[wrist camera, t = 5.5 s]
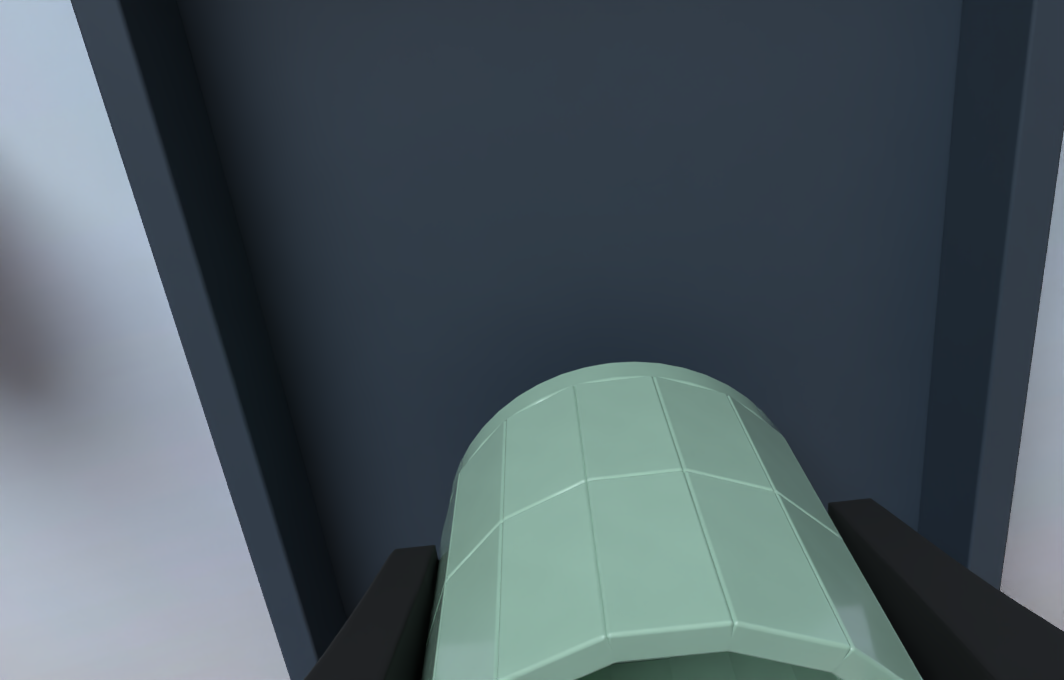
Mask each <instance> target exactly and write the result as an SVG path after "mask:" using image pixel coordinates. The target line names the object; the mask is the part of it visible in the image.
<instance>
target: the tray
mask: <svg viewBox="0 0 1064 680" xmlns="http://www.w3.org/2000/svg"><path fill="white" fill-rule="evenodd" d="M71 3H72V6H73V9H74V12H75V15H76V18H77V22H78V25H79V28H80V31H81V34H82V37H83V40H84V43H85V46H86V49H87V52H88V56H89V59H90V62H91V65H92V68H93V71H94V74H95V77H96V80H97V83H98V86H99V89H100V93H101V96H102V99H103V102H104V105H105V108H106V111H107V114H108V117H109V120H110V123H111V127H112V130H113V133H114V136H115V139H116V142H117V145H118V148H119V151H120V154H121V157H122V160H123V164H124V167H125V170H126V173H127V176H128V179H129V182H130V185H131V188H132V191H133V194H134V198H135V201H136V204H137V207H138V210H139V213H140V216H141V219H142V222H143V225H144V228H145V231H146V235H147V238H148V241H149V244H150V247H151V250H152V253H153V256H154V259H155V262H156V265H157V269H158V272H159V275H160V278H161V281H162V284H163V287H164V290H165V293H166V296H167V299H168V303H169V306H170V309H171V312H172V315H173V318H174V321H175V324H176V327H177V330H178V333H179V336H180V340H181V343H182V346H183V349H184V352H185V355H186V358H187V361H188V364H189V367H190V370H191V374H192V377H193V380H194V383H195V386H196V389H197V392H198V395H199V398H200V401H201V404H202V407H203V411H204V414H205V417H206V420H207V423H208V426H209V429H210V432H211V435H212V438H213V441H214V445H215V448H216V451H217V454H218V457H219V460H220V463H221V466H222V469H223V472H224V475H225V478H226V482H227V485H228V488H229V491H230V494H231V497H232V500H233V503H234V506H235V509H236V512H237V516H238V519H239V522H240V525H241V528H242V531H243V534H244V537H245V540H246V543H247V546H248V550H249V553H250V556H251V559H252V562H253V565H254V568H255V571H256V574H257V577H258V580H259V583H260V587H261V590H262V593H263V596H264V599H265V602H266V605H267V608H268V611H269V614H270V617H271V621H272V624H273V627H274V630H275V633H276V636H277V639H278V642H279V645H280V648H281V651H282V654H283V658H284V661H285V664H286V667H287V670H288V673H289V676H290V679H291V680H304V678H305V677H306V676H307V675H308V673H309V672H310V671H311V669H312V668H313V667H314V666H315V664H316V663H317V662H318V660H319V659H320V658H321V656H322V655H323V654H324V652H325V651H326V649H327V648H328V647H329V645H330V644H331V642H332V641H333V640H334V638H335V637H336V635H337V634H338V632H339V631H340V630H341V628H342V627H343V625H344V624H345V623H346V621H347V620H348V618H349V617H350V615H351V614H352V612H353V611H354V609H355V608H356V606H357V605H358V603H359V602H360V600H361V599H362V597H363V596H364V594H365V593H366V591H367V590H368V588H369V587H370V585H371V583H372V582H373V580H374V579H375V577H376V576H377V574H378V572H379V571H380V569H381V568H382V566H383V565H384V563H385V561H386V560H387V558H388V557H389V555H390V554H391V553H392V552H393V551H394V550H395V549H401V548H410V547H419V546H429V545H435V546H436V551H437V556H438V558H439V551H440V544H441V537H442V530H443V527H444V523H445V520H446V516H447V513H448V507H449V500H450V495H451V490H452V485H453V481H454V478H455V475H456V473H457V470H458V467H459V464H460V462H461V460H462V458H463V457H464V455H465V453H466V451H467V449H468V447H469V446H470V444H471V443H472V441H473V440H474V439H475V437H476V436H477V435H478V433H479V432H480V431H481V429H482V428H483V427H484V426H485V425H486V424H487V423H488V422H489V421H490V420H491V419H492V418H493V417H494V416H495V415H496V414H497V413H498V412H499V411H500V410H501V409H502V408H504V407H505V406H506V405H507V404H509V403H510V402H511V401H513V400H514V399H515V398H516V397H518V396H519V395H521V394H523V393H524V392H526V391H528V390H530V389H531V388H533V387H535V386H536V385H538V384H540V383H542V382H545V381H547V380H549V379H552V378H554V377H556V376H558V375H561V374H564V373H567V372H571V371H574V370H577V369H581V368H584V367H589V366H595V365H600V364H606V363H617V362H649V363H661V364H666V365H672V366H677V367H682V368H686V369H689V370H692V371H695V372H698V373H702V374H705V375H707V376H710V377H712V378H714V379H716V380H718V381H720V382H722V383H724V384H727V385H728V386H730V387H731V388H733V389H735V390H736V391H738V392H739V393H741V394H742V395H744V396H745V397H747V398H748V399H749V400H750V401H751V402H753V403H754V404H755V405H756V406H757V407H758V408H759V409H761V410H762V411H763V412H764V413H765V415H766V416H767V417H768V418H769V419H770V420H771V422H772V423H773V424H774V425H775V426H776V427H777V429H778V431H779V432H780V434H782V436H783V437H784V438H785V439H786V441H787V443H788V444H789V446H790V448H791V450H792V451H793V453H794V455H795V457H796V458H797V460H798V462H799V464H800V465H801V467H802V469H803V471H804V472H805V474H806V476H807V478H808V479H809V481H810V483H811V485H812V486H813V488H814V490H815V492H816V493H817V495H818V497H819V499H820V500H821V502H822V504H823V506H824V507H825V509H826V511H827V512H828V503H830V502H839V501H849V500H858V499H867V498H871V499H873V500H874V501H875V502H877V503H878V504H880V505H881V506H883V507H884V508H885V509H887V510H888V511H889V512H891V513H892V514H893V515H895V516H896V517H897V518H899V519H900V520H901V521H903V522H904V523H906V524H907V525H908V526H910V527H911V528H912V529H914V530H915V531H916V532H918V533H919V534H920V535H922V536H923V537H924V538H926V539H927V540H928V541H930V542H931V543H933V544H934V545H935V546H937V547H938V548H939V549H941V550H942V551H943V552H945V553H946V554H948V555H949V556H950V557H952V558H953V559H955V560H956V561H957V562H959V563H960V564H962V565H963V566H964V567H966V568H967V569H969V570H970V571H972V572H973V573H974V574H976V575H977V576H979V577H980V578H982V579H983V580H984V581H986V582H987V583H989V584H990V585H992V586H993V587H995V588H996V589H998V590H999V591H1000V585H1001V578H1002V570H1003V563H1004V556H1005V549H1006V542H1007V534H1008V527H1009V520H1010V513H1011V505H1012V498H1013V491H1014V484H1015V477H1016V469H1017V462H1018V455H1019V448H1020V441H1021V433H1022V426H1023V419H1024V412H1025V404H1026V397H1027V390H1028V383H1029V376H1030V368H1031V361H1032V354H1033V347H1034V340H1035V332H1036V325H1037V318H1038V311H1039V303H1040V296H1041V289H1042V282H1043V275H1044V267H1045V260H1046V253H1047V246H1048V239H1049V231H1050V224H1051V217H1052V210H1053V203H1054V195H1055V188H1056V181H1057V174H1058V166H1059V159H1060V152H1061V145H1062V138H1063V130H1064V0H71Z"/></svg>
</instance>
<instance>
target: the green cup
mask: <svg viewBox="0 0 1064 680" xmlns="http://www.w3.org/2000/svg"><path fill="white" fill-rule="evenodd" d="M426 645H427V646H426V649H425V656H424V663H423V670H422V677H421V680H923V678H922V677H921V675H920V673H919V671H918V670H917V668H916V666H915V664H914V663H913V661H912V659H911V657H910V656H909V654H908V652H907V650H906V649H905V647H904V645H903V643H902V642H901V640H900V638H899V637H898V635H897V633H896V631H895V630H894V628H893V626H892V624H891V623H890V621H889V619H888V617H887V616H886V614H885V612H884V610H883V609H882V607H881V605H880V603H879V602H878V600H877V598H876V596H875V595H874V593H873V591H872V589H871V588H870V586H869V584H868V582H867V581H866V579H865V577H864V575H863V574H862V572H861V570H860V568H859V567H858V565H857V563H856V561H855V560H854V558H853V556H852V554H851V553H850V551H849V549H848V547H847V546H846V544H845V543H844V541H843V539H842V537H841V535H840V533H839V532H838V530H837V528H836V526H835V525H834V523H833V521H832V519H831V518H830V516H829V514H828V512H827V511H826V509H825V507H824V506H823V504H822V502H821V500H820V499H819V497H818V495H817V493H816V492H815V490H814V488H813V486H812V485H811V483H810V481H809V479H808V478H807V476H806V474H805V472H804V471H803V469H802V467H801V465H800V464H799V462H798V460H797V458H796V457H795V455H794V453H793V451H792V450H791V448H790V446H789V444H788V443H787V441H786V439H785V438H784V437H783V436H782V434H780V432H779V431H778V429H777V427H776V426H775V425H774V424H773V423H772V422H771V420H770V419H769V418H768V417H767V416H766V415H765V413H764V412H763V411H762V410H761V409H759V408H758V407H757V406H756V405H755V404H754V403H753V402H751V401H750V400H749V399H748V398H747V397H745V396H744V395H742V394H741V393H739V392H738V391H736V390H735V389H733V388H731V387H730V386H728V385H727V384H724V383H722V382H720V381H718V380H716V379H714V378H712V377H710V376H707V375H705V374H702V373H698V372H695V371H692V370H689V369H686V368H682V367H677V366H672V365H666V364H661V363H649V362H617V363H606V364H600V365H595V366H589V367H584V368H581V369H577V370H574V371H571V372H567V373H564V374H561V375H558V376H556V377H554V378H552V379H549V380H547V381H545V382H542V383H540V384H538V385H536V386H535V387H533V388H531V389H530V390H528V391H526V392H524V393H523V394H521V395H519V396H518V397H516V398H515V399H514V400H513V401H511V402H510V403H509V404H507V405H506V406H505V407H504V408H502V409H501V410H500V411H499V412H498V413H497V414H496V415H495V416H494V417H493V418H492V419H491V420H490V421H489V422H488V423H487V424H486V425H485V426H484V427H483V428H482V429H481V431H480V432H479V433H478V435H477V436H476V437H475V439H474V440H473V441H472V443H471V444H470V446H469V447H468V449H467V451H466V453H465V455H464V457H463V458H462V460H461V462H460V464H459V467H458V470H457V473H456V475H455V478H454V481H453V485H452V490H451V495H450V500H449V507H448V513H447V516H446V520H445V523H444V527H443V530H442V537H441V544H440V551H439V558H438V568H437V575H436V582H435V589H434V596H433V603H432V610H431V615H430V621H429V628H428V635H427V642H426Z"/></svg>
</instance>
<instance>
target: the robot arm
mask: <svg viewBox="0 0 1064 680" xmlns="http://www.w3.org/2000/svg"><path fill="white" fill-rule="evenodd" d="M828 514H829V516H830V518H831V519H832V521H833V523H834V525H835V526H836V528H837V530H838V532H839V533H840V535H841V537H842V539H843V541H844V543H845V544H846V546H847V547H848V549H849V551H850V553H851V554H852V556H853V558H854V560H855V561H856V563H857V565H858V567H859V568H860V570H861V572H862V574H863V575H864V577H865V579H866V581H867V582H868V584H869V586H870V588H871V589H872V591H873V593H874V595H875V596H876V598H877V600H878V602H879V603H880V605H881V607H882V609H883V610H884V612H885V614H886V616H887V617H888V619H889V621H890V623H891V624H892V626H893V628H894V630H895V631H896V633H897V635H898V637H899V638H900V640H901V642H902V643H903V645H904V647H905V649H906V650H907V652H908V654H909V656H910V657H911V659H912V661H913V663H914V664H915V666H916V668H917V670H918V671H919V673H920V675H921V677H922V678H923V680H1064V631H1062V630H1060V629H1059V628H1057V627H1056V626H1054V625H1052V624H1051V623H1049V622H1048V621H1046V620H1044V619H1043V618H1041V617H1040V616H1038V615H1036V614H1035V613H1033V612H1032V611H1030V610H1028V609H1027V608H1025V607H1024V606H1022V605H1020V604H1019V603H1017V602H1016V601H1014V600H1013V599H1011V598H1010V597H1008V596H1007V595H1005V594H1004V593H1002V592H1001V591H999V590H998V589H996V588H995V587H993V586H992V585H990V584H989V583H987V582H986V581H984V580H983V579H982V578H980V577H979V576H977V575H976V574H974V573H973V572H972V571H970V570H969V569H967V568H966V567H964V566H963V565H962V564H960V563H959V562H957V561H956V560H955V559H953V558H952V557H950V556H949V555H948V554H946V553H945V552H943V551H942V550H941V549H939V548H938V547H937V546H935V545H934V544H933V543H931V542H930V541H928V540H927V539H926V538H924V537H923V536H922V535H920V534H919V533H918V532H916V531H915V530H914V529H912V528H911V527H910V526H908V525H907V524H906V523H904V522H903V521H901V520H900V519H899V518H897V517H896V516H895V515H893V514H892V513H891V512H889V511H888V510H887V509H885V508H884V507H883V506H881V505H880V504H878V503H877V502H875V501H874V500H873V499H871V498H867V499H858V500H849V501H839V502H830V503H828ZM437 568H438V556H437V551H436V546H435V545H429V546H419V547H410V548H401V549H395V550H394V551H393V552H392V553H391V554H390V555H389V557H388V558H387V560H386V561H385V563H384V565H383V566H382V568H381V569H380V571H379V572H378V574H377V576H376V577H375V579H374V580H373V582H372V583H371V585H370V587H369V588H368V590H367V591H366V593H365V594H364V596H363V597H362V599H361V600H360V602H359V603H358V605H357V606H356V608H355V609H354V611H353V612H352V614H351V615H350V617H349V618H348V620H347V621H346V623H345V624H344V625H343V627H342V628H341V630H340V631H339V632H338V634H337V635H336V637H335V638H334V640H333V641H332V642H331V644H330V645H329V647H328V648H327V649H326V651H325V652H324V654H323V655H322V656H321V658H320V659H319V660H318V662H317V663H316V664H315V666H314V667H313V668H312V669H311V671H310V672H309V673H308V675H307V676H306V677H305V678H304V680H421V677H422V670H423V663H424V656H425V649H426V646H427V645H426V642H427V635H428V628H429V621H430V615H431V610H432V603H433V596H434V589H435V582H436V575H437Z"/></svg>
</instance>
